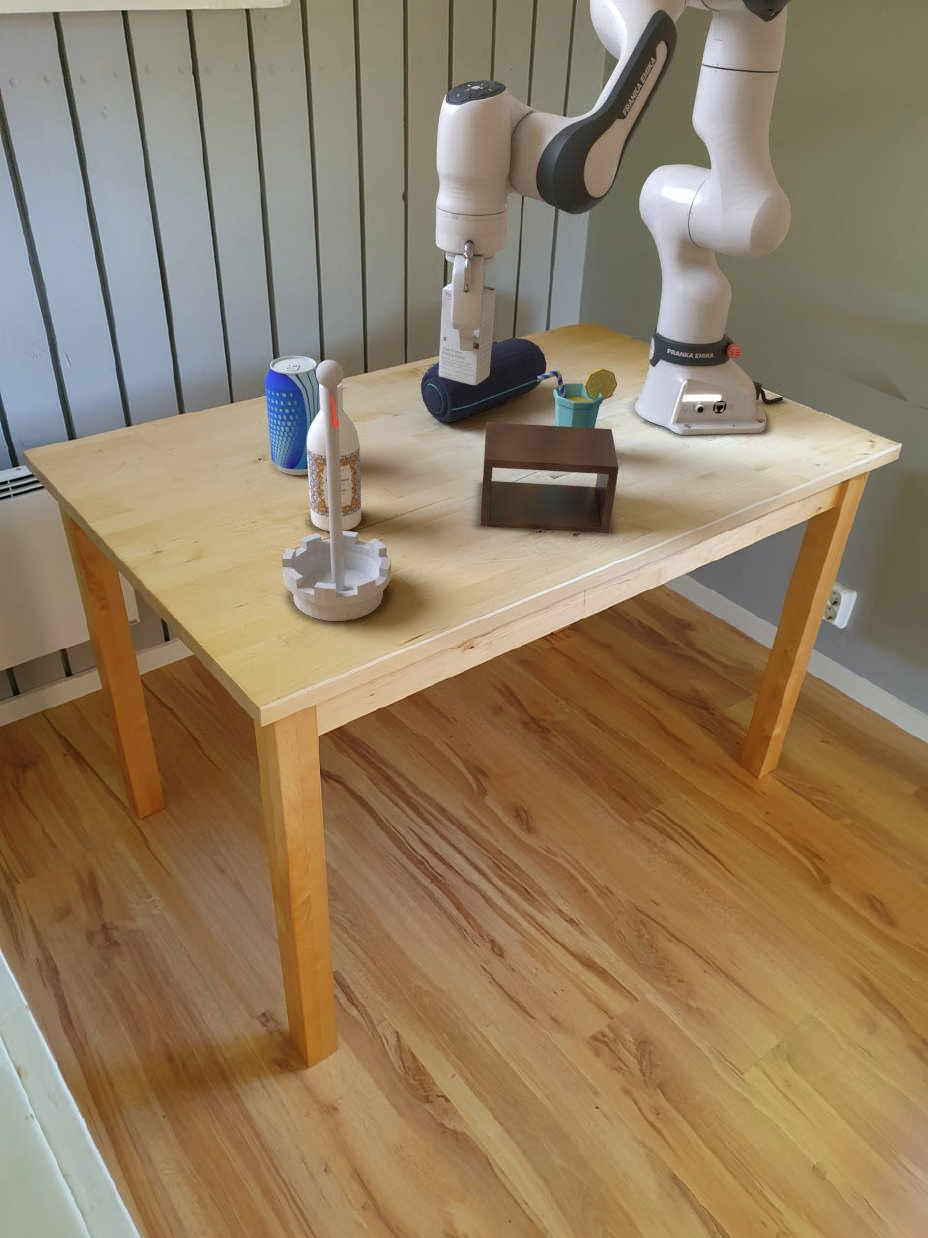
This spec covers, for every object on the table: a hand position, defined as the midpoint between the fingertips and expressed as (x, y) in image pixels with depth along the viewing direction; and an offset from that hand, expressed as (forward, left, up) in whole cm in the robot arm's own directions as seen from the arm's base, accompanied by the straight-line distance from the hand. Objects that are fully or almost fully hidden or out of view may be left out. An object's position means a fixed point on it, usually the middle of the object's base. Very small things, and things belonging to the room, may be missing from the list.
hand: (467, 339), depth 128 cm
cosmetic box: (0, 0, -5) cm, 5 cm away
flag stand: (+14, +28, -23) cm, 39 cm away
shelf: (-12, +3, -23) cm, 26 cm away
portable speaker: (-2, -32, -23) cm, 40 cm away
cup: (-16, -14, -23) cm, 32 cm away
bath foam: (+17, +10, -23) cm, 30 cm away
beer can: (+25, -6, -23) cm, 35 cm away
